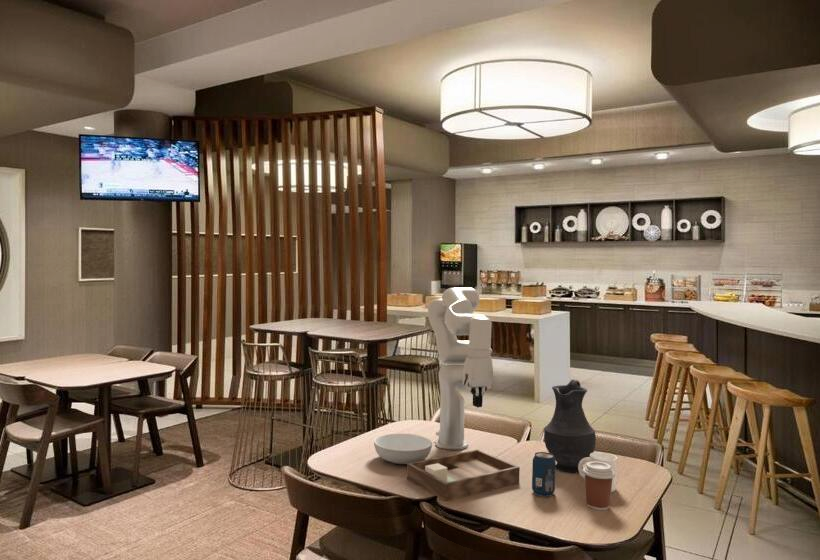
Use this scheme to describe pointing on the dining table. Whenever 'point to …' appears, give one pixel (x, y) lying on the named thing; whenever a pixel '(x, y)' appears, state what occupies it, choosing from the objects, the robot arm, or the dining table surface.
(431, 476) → the trap box
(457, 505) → the dining table surface
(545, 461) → the soda can
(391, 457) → the serving bowl
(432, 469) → the block
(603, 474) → the coffee cup
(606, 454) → the mug
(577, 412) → the pitcher
